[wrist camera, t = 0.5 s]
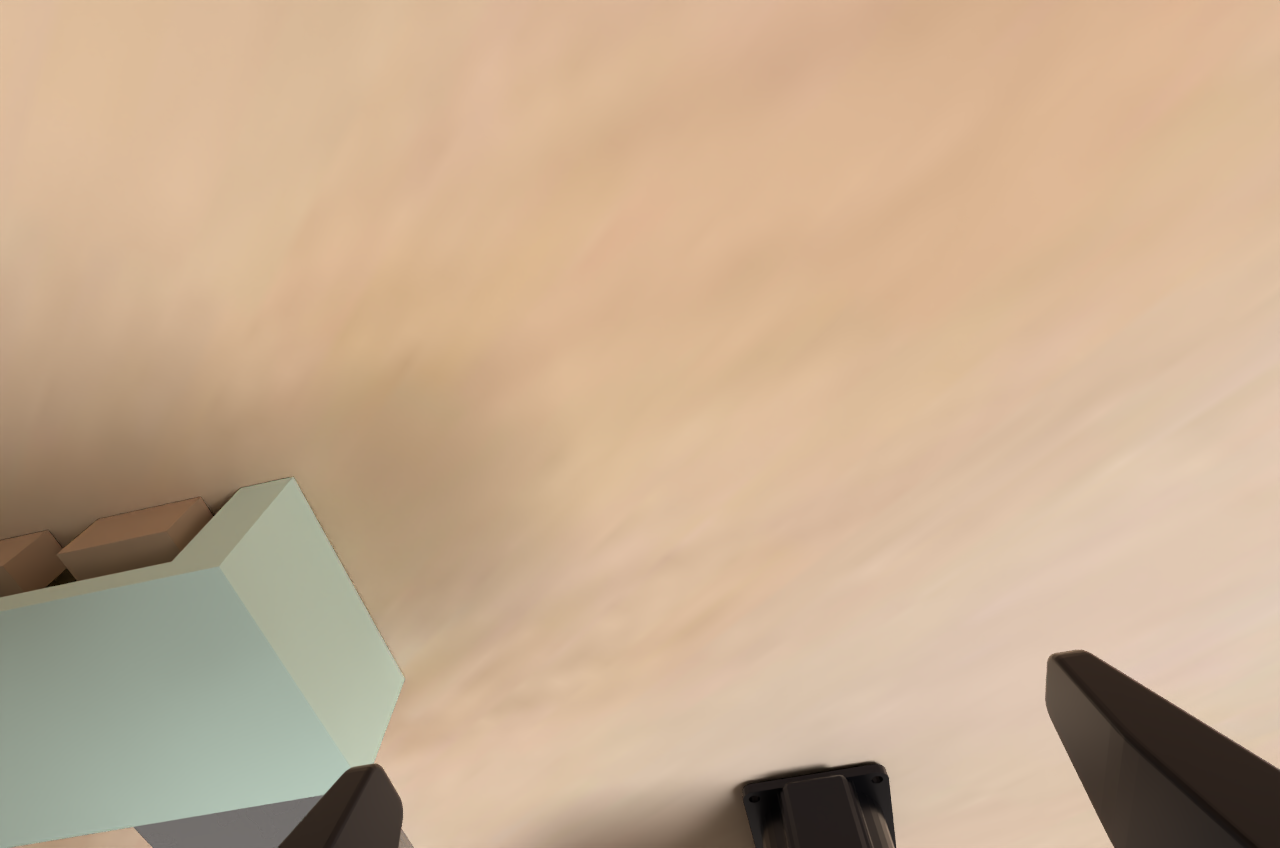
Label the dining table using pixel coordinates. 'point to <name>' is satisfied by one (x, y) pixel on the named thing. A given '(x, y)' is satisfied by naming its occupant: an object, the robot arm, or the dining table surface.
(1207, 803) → the robot arm
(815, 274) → the dining table surface
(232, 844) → the grey flat block
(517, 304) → the dining table surface
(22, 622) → the pale mint green box
